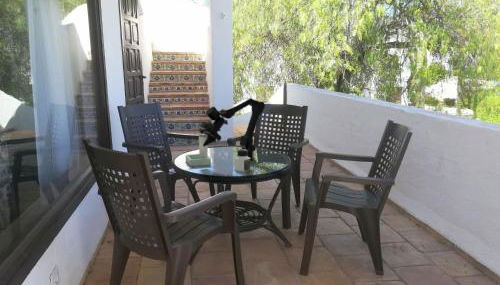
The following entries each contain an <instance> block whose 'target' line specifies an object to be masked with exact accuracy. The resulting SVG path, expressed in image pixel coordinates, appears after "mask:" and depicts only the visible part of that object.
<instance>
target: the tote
mask: <svg viewBox="0 0 500 285" xmlns="http://www.w3.org/2000/svg"><path fill="white" fill-rule="evenodd" d="M211 160H212V158H211V157H210V156H205V157H201V156H199V153H193V154H192V153H191V154H190V153H189V154H185V163H186V164H187V165H188V166H189V167H190V168H195V167H196V168H197V167H199V168H200V167H207V166H208V167H209V166H212V165H211V164H212V162H211Z"/></svg>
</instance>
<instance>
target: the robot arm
mask: <svg viewBox="0 0 500 285" xmlns="http://www.w3.org/2000/svg"><path fill="white" fill-rule="evenodd" d="M248 106H250V108H251V116H250V119H249V122H248V125H247V128H246V130H245V133H244V135H241V136H240V138H239V145H240V147H241V149H244V150H247V151H248V157H249V158H251V161H253V160H254V159H255V156H254V155H255V154H254V152H256V149H257V147H256V146H255V145H254V144H253V143H254V138H253V136H254V133H255V130H256V127H257V124H258V121H259V117H260V115H261V114H262V113H263V112H264V110H265V108H266V104H265V102H264V101H260V100H256V99H253V98H251V97H246V98H244V99H242V100H240V101H239V102H237V103H236V104H234V105H232V106H227V107H223V108H222V109H221V110H218V109H217V108H216V106H211V107H210V108H208V109H207V110H206V111H205V115H206V116H207V117H208V118H209V119H210V120H211V121H213V122H210V121H208V122H205V121H202V122H201V124H200V128H199V129H198V132H199V134H208V136H207V139H206V141H205V143H204V144H203V146H206V145H210V144H213V143H215V142H220V141H221V140H222V136H221V135H220V134H219V133H218V132H221V131H222V127H223V126H224V125H226V126H227V125H228V124H229V123H228V122H229V121H228V119H231V118H233V117H234V116H235V115H236V113H237V112H239V111H241V110H243V109H244V108H247V107H248Z"/></svg>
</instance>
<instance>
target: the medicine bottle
mask: <svg viewBox="0 0 500 285" xmlns="http://www.w3.org/2000/svg"><path fill="white" fill-rule="evenodd" d="M236 156H237V157H235V158H234V159H233V165H234V167H233V170H234V171H237V172H244V173H245V172H247V171H250V170H251V169H252V168H251V167H252V166H251V165H252V164H251V163H252V162H251V158H249V157H248V151H247V150H244V149H242V148H241V149H238V150H237V154H236Z"/></svg>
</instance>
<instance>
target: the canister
mask: <svg viewBox="0 0 500 285" xmlns="http://www.w3.org/2000/svg"><path fill="white" fill-rule="evenodd" d="M207 136H208V134H201V133H199V134H198V150H199V151H198V154H199V156H201V157H205V156H208V153H209V150H208V149H209V148H208V145H209V144H208V145H206V146H203V144H204V143H205V141H206V139H207ZM208 157H209V156H208Z"/></svg>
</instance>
